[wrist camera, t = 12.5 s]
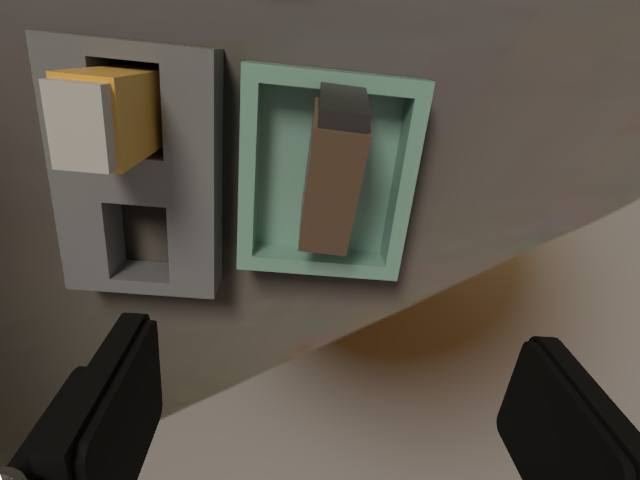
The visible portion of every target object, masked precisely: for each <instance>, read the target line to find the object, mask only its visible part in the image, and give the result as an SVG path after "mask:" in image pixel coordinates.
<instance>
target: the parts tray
mask: <svg viewBox="0 0 640 480" xmlns="http://www.w3.org/2000/svg"><path fill="white" fill-rule="evenodd" d="M321 82H327V83H334V84H342V85H349V86H356V87H364V88H366V90H367V94H368V99H369V104H370V109H371V114H372V118H371V123H370V128H371V133H372V140H371V145H370V150H369V154H368V159H367V163H366V168H365V172H364V177H363V181H362V186H361V191H360V195H359V200H358V204H357V209H356V213H355V218H354V222H353V227H352V232H351V236H350V241H349V245H348V250H347V254H346V256H339V255H330V254H321V253H311V252H302V251H298V243H299V230H300V218H301V207H302V199H303V191H304V183H305V175H306V167H307V159H308V150H309V142H310V134H311V126H312V118H313V110H314V102H315V97H319V91H320V84H321ZM434 87H435V82H434V81H430V80H427V79H423V78H414V77H404V76H394V75H384V74H375V73H365V72H355V71H346V70H336V69H326V68H316V67H307V66H297V65H287V64H278V63H268V62H258V61H243V62H241V90H240V135H239V180H238V225H237V269H240V270H253V271H266V272H280V273H293V274H306V275H320V276H333V277H347V278H360V279H373V280H387V281H397V280H398V275H399V270H400V264H401V259H402V254H403V249H404V243H405V238H406V233H407V228H408V223H409V217H410V212H411V207H412V202H413V196H414V191H415V186H416V181H417V176H418V170H419V165H420V160H421V155H422V149H423V144H424V139H425V134H426V129H427V123H428V118H429V113H430V108H431V102H432V97H433V92H434Z"/></svg>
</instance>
